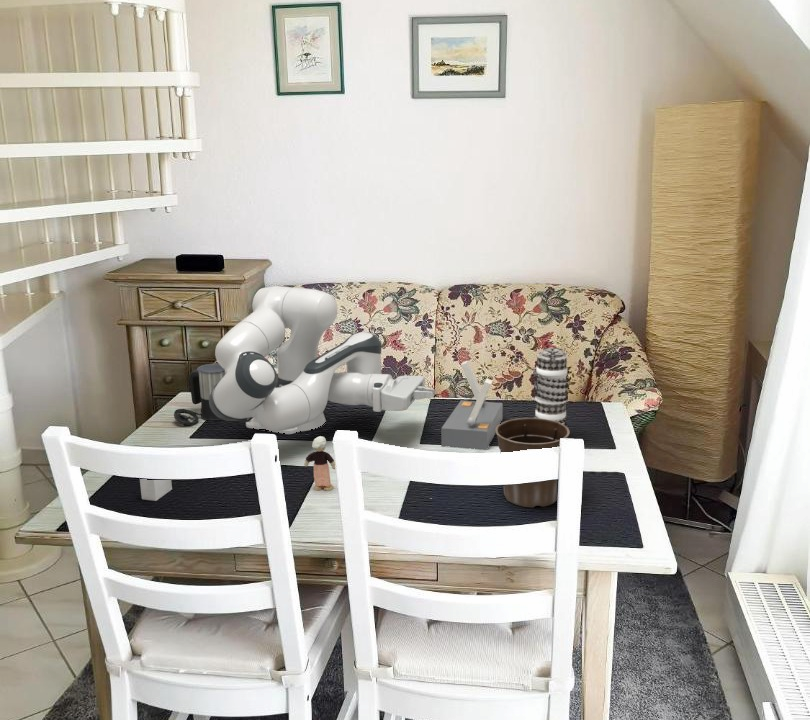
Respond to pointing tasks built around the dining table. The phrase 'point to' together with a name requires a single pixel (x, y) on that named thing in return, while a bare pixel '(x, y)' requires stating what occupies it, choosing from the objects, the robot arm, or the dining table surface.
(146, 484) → the light grey rectangular block
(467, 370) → the switch lever
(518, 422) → the plant pot
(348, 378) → the robot arm
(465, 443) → the switch unit
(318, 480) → the grandmother figurine
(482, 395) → the switch lever
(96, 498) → the dining table surface
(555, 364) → the decorative candle
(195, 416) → the milk frother
